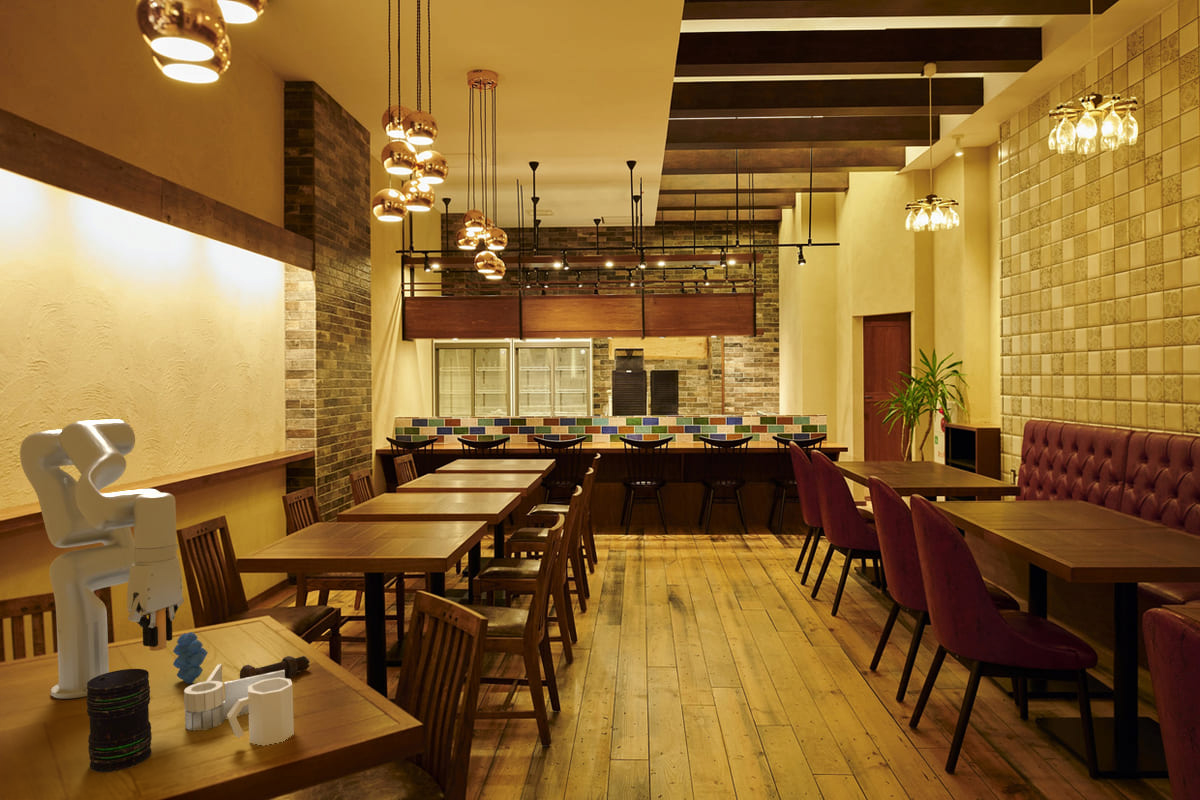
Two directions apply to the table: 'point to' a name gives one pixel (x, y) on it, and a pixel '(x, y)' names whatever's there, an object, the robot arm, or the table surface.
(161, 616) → the hinge pin
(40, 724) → the table surface
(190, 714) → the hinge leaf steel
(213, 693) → the hinge leaf cream
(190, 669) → the grapes
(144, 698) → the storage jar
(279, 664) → the bolt
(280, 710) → the mug
